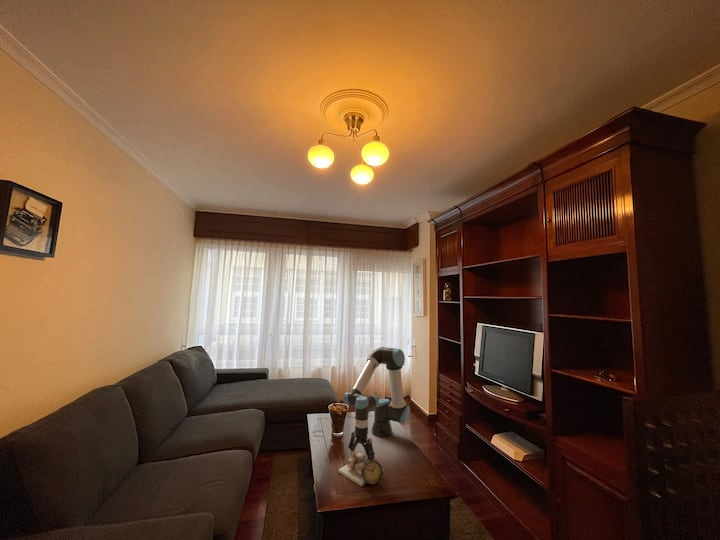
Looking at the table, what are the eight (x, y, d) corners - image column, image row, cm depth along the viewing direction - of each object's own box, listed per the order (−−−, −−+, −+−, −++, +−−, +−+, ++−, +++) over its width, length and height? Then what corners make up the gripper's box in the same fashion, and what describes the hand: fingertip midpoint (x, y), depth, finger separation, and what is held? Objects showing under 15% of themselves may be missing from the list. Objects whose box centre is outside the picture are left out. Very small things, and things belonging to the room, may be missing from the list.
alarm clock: (362, 488, 148) (363, 454, 150) (360, 481, 154) (360, 449, 155) (382, 485, 151) (383, 452, 153) (379, 479, 156) (380, 447, 158)
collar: (361, 475, 155) (361, 467, 155) (347, 466, 163) (347, 459, 163) (374, 466, 163) (374, 459, 163) (360, 459, 170) (360, 452, 171)
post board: (360, 459, 175) (360, 446, 176) (383, 472, 163) (383, 457, 164) (338, 472, 162) (338, 458, 163) (361, 486, 150) (361, 471, 151)
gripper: (342, 421, 171) (341, 461, 168) (372, 434, 155) (372, 478, 152) (351, 418, 176) (350, 456, 173) (381, 430, 160) (381, 472, 157)
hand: (360, 466), depth 163 cm, fingers closed on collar, 11 cm apart
